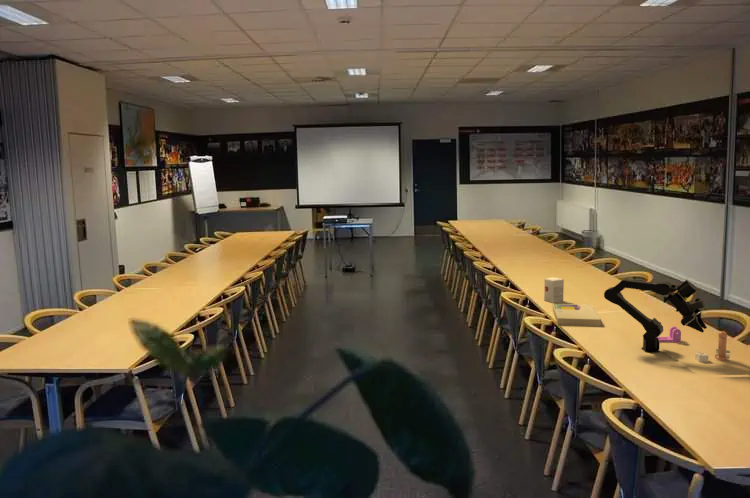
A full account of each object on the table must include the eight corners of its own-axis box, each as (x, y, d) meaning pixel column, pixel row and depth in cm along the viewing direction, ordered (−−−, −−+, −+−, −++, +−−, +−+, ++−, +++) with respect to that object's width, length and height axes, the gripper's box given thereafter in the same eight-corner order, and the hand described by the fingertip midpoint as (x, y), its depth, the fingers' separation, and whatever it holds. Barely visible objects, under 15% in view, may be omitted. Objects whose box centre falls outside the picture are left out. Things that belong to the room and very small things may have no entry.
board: (729, 364, 290) (729, 362, 290) (713, 362, 294) (713, 360, 293) (730, 352, 307) (731, 350, 307) (715, 350, 311) (715, 348, 310)
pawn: (719, 360, 292) (720, 332, 290) (714, 357, 297) (715, 330, 295) (729, 360, 292) (730, 332, 290) (723, 357, 297) (725, 329, 295)
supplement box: (543, 300, 422) (543, 278, 420) (554, 299, 426) (554, 276, 423) (552, 303, 414) (553, 280, 412) (563, 301, 418) (564, 279, 415)
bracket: (676, 339, 330) (677, 326, 329) (680, 342, 325) (681, 329, 324) (650, 339, 332) (650, 326, 331) (653, 342, 326) (654, 328, 325)
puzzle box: (556, 326, 362) (601, 327, 358) (556, 318, 362) (601, 319, 357) (552, 310, 397) (593, 311, 393) (552, 303, 397) (593, 304, 392)
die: (699, 364, 292) (699, 355, 291) (694, 361, 296) (695, 352, 295) (707, 363, 292) (708, 355, 291) (703, 361, 296) (704, 352, 295)
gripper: (689, 297, 290) (715, 324, 286) (697, 289, 305) (722, 315, 300) (670, 312, 296) (695, 338, 291) (679, 304, 311) (703, 329, 306)
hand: (704, 330), depth 297 cm, fingers open, 7 cm apart
